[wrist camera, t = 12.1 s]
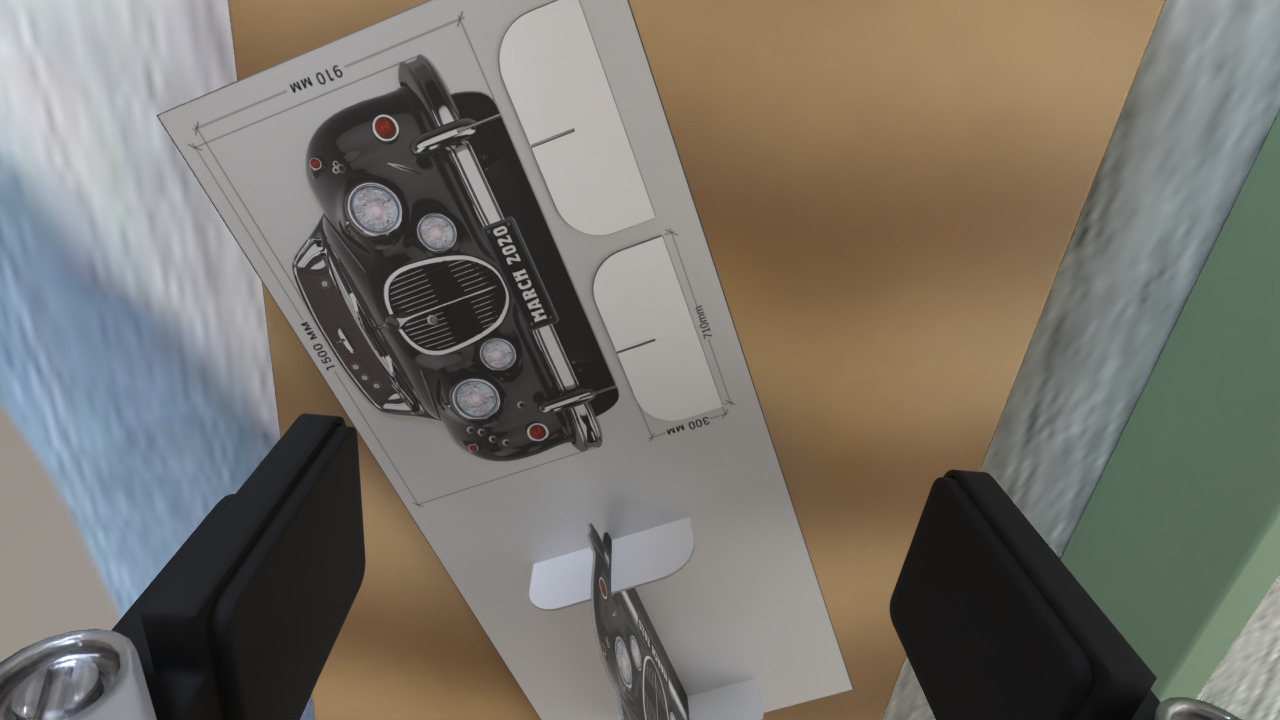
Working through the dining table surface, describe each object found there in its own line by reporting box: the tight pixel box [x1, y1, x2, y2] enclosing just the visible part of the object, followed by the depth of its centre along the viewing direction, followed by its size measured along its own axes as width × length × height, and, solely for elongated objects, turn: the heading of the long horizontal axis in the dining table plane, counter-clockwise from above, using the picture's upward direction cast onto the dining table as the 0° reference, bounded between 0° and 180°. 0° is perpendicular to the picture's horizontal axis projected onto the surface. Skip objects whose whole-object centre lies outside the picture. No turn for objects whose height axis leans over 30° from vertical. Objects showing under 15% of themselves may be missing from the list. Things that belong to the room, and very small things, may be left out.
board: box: [228, 0, 1166, 720], centre depth 14 cm, size 22×13×2 cm, turn 173°
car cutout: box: [157, 0, 854, 720], centre depth 11 cm, size 15×7×4 cm, turn 20°
